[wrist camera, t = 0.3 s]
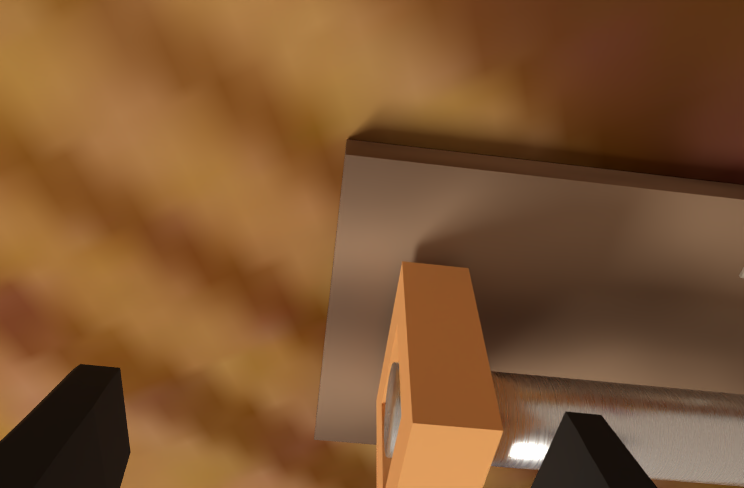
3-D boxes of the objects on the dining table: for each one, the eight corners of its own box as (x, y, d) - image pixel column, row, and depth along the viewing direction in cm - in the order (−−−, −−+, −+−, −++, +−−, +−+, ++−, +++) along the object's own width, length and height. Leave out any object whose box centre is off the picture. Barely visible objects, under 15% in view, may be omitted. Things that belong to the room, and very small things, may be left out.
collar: (432, 405, 22) (450, 576, 17) (376, 400, 22) (377, 571, 17) (468, 267, 19) (503, 430, 14) (402, 261, 18) (412, 423, 13)
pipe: (923, 451, 21) (987, 525, 18) (383, 404, 19) (384, 477, 17) (975, 397, 19) (1051, 470, 17) (395, 343, 18) (398, 414, 16)
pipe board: (887, 467, 26) (1049, 668, 20) (316, 418, 24) (296, 620, 18) (1111, 227, 19) (1458, 416, 13) (346, 139, 18) (332, 307, 12)
